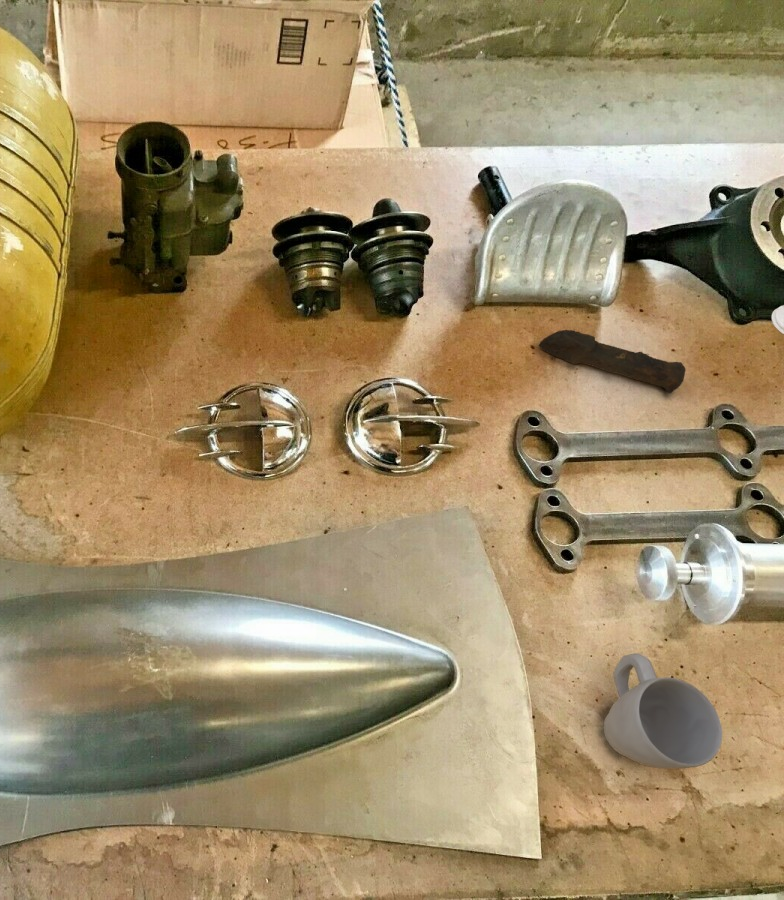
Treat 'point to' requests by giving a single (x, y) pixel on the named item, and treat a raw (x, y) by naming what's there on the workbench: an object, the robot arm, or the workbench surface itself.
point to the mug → (661, 719)
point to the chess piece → (778, 318)
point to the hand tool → (614, 359)
